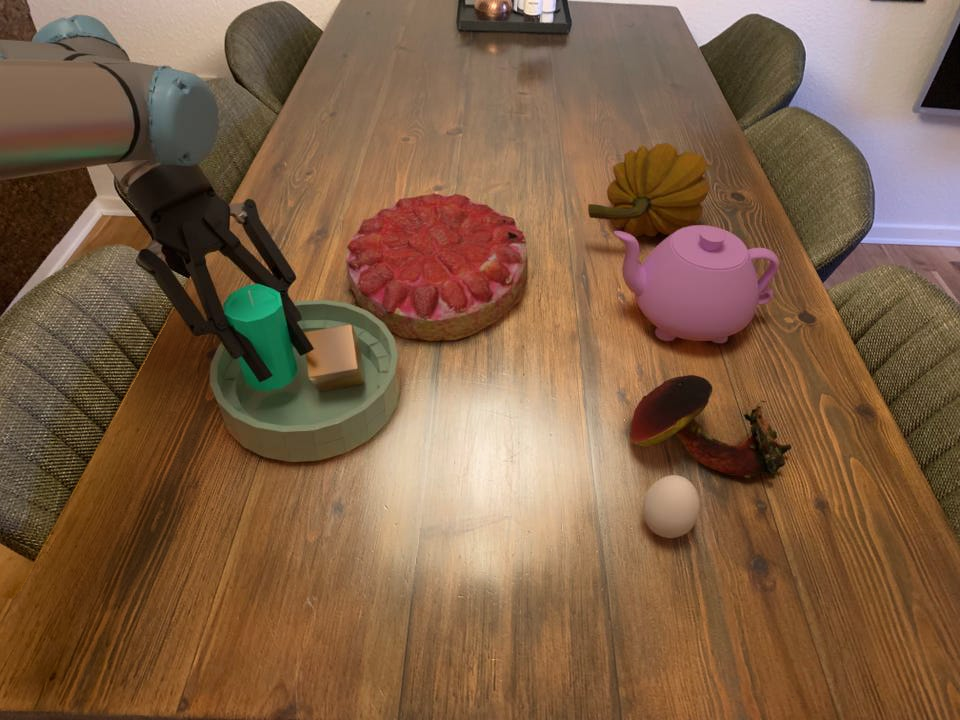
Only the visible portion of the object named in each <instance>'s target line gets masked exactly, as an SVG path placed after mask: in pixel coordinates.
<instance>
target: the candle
mask: <svg viewBox="0 0 960 720" xmlns="http://www.w3.org/2000/svg"><path fill="white" fill-rule="evenodd" d="M222 308H223V310H224V314H225V316H226V318H227V321H228V325H229V327H230V326H232V325H233V327H234V328H235V330H237V331H238V332H240V333H241V334H242V335H244V336H245V337H247V338H248V339H249V341H250V342H251V344H252V345H253V347H254V348H255V350H256V351H257V353H258V354H259V356H260V357H261V359H262V360H263V362H264V363H265V365H266V366H267V367H268V369H269V370H270V372H271V373H272V375H273V376H271V377H270V378H268V379H267V380H264V381H262V382H259V381H258V379H257V378H256V376H255V375H254V373H253V372H252V371H251V369H250V368H249V366H248V365H247V363H246V362H245V360H244V359H243V357H242V356H241V357H239V358H238V359H239V362H240V365H241V369H242V372H243V375H244V378H245V381H246V382H247V383H248V384H249V385H250V386H251V387H252V388H253V389H257V390H262V391H271V390H276V389H281V388H283V387H284V386H286V385H287V384H289V383H290V382H292V381H293V379H294V377H295V376H296V374H297V372H298V369H297V364H296V359H295V355H294V351H293V347H292V343H291V340H290V335H289V331H288V327H287V323H286V319H285V314H284V309H283V305H282V300H281V296H280V293H279V292H277V291H276V290H274V289H272V288H269V287H266V286H263V285H260V284H255V283H252V284H248V285H243V286H241V287H239V288H237V289H236V290H234V291H232V292H231V293H229V295H228V296H227V297H226V300H225V301H224V303H223V305H222Z"/></svg>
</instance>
